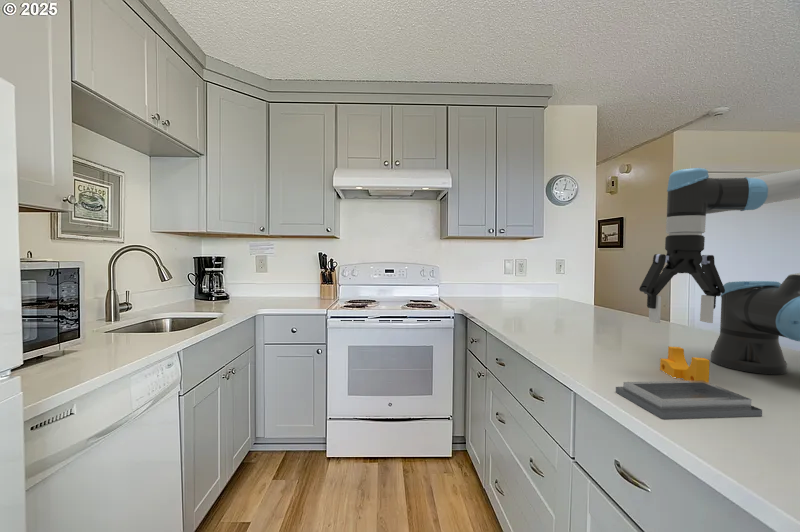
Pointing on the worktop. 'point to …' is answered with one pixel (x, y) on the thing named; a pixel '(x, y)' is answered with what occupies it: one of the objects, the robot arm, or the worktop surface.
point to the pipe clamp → (685, 366)
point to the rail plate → (687, 399)
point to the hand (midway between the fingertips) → (680, 322)
